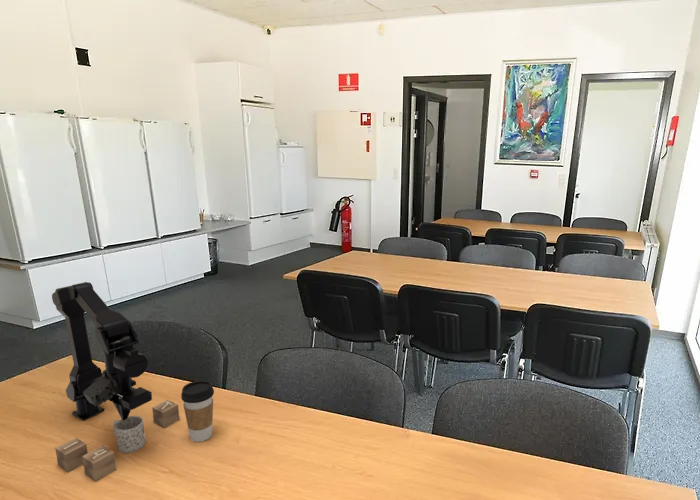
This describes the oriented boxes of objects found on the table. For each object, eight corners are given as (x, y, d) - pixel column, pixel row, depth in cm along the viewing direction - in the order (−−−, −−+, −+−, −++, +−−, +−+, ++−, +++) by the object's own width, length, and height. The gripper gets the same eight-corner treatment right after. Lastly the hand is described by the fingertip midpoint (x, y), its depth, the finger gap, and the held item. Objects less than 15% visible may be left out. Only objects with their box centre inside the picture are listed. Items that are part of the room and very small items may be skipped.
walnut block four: (85, 474, 109) (82, 455, 108) (105, 462, 113) (102, 444, 112) (95, 482, 106) (93, 463, 105) (116, 470, 111) (113, 451, 109)
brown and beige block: (153, 423, 130) (152, 406, 129) (168, 414, 134) (167, 399, 133) (164, 428, 127) (162, 412, 126) (179, 419, 131) (178, 403, 130)
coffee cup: (207, 446, 119) (203, 395, 116) (178, 442, 121) (174, 392, 118) (222, 428, 127) (218, 379, 124) (195, 424, 129) (191, 376, 126)
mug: (150, 441, 121) (148, 419, 120) (128, 456, 115) (125, 433, 114) (126, 431, 126) (124, 410, 124) (104, 444, 120) (101, 422, 119)
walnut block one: (58, 465, 112) (55, 447, 111) (78, 454, 116) (76, 436, 115) (68, 472, 110) (65, 454, 108) (88, 461, 114) (86, 443, 113)
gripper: (66, 368, 114) (75, 423, 118) (107, 388, 104) (114, 447, 108) (109, 352, 123) (116, 403, 127) (150, 369, 113) (156, 424, 117)
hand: (124, 419), depth 119 cm, fingers closed
